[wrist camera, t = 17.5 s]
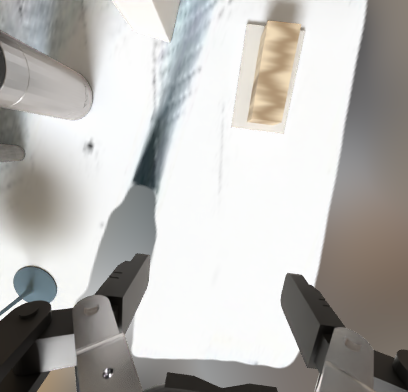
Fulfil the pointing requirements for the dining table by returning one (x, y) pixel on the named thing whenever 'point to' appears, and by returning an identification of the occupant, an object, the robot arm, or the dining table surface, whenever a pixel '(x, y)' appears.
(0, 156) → the hip flask
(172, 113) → the dining table surface
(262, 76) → the birch block
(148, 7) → the milk carton
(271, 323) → the dining table surface
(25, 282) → the cocktail glass
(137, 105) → the dining table surface
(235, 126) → the white board
